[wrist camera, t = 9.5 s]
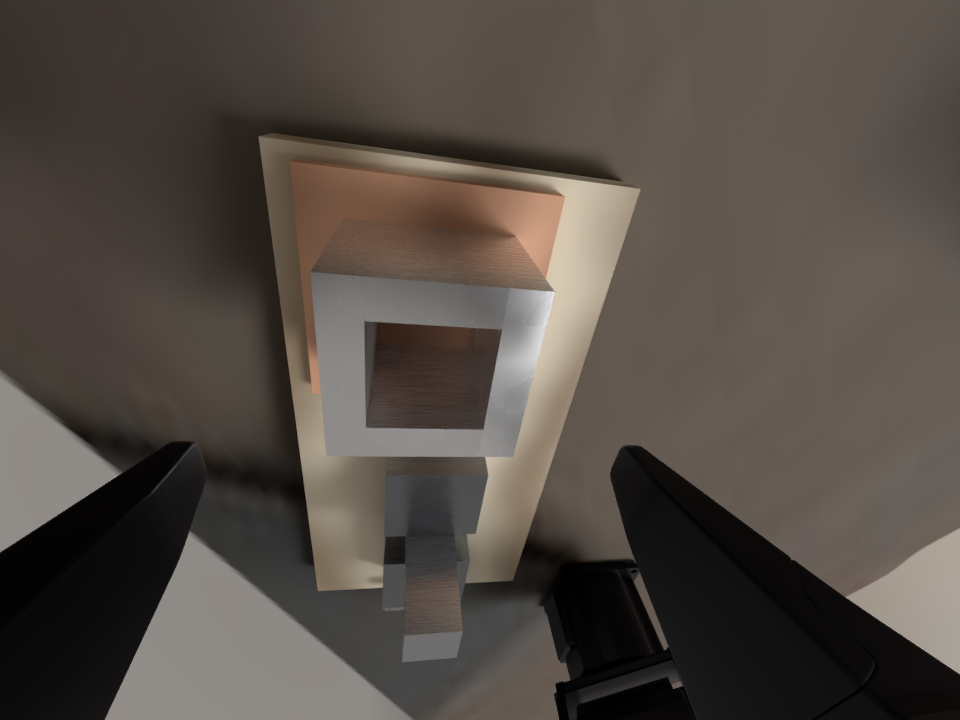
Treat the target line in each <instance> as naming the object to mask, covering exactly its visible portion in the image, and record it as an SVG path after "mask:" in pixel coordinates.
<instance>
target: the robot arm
mask: <svg viewBox="0 0 960 720" xmlns="http://www.w3.org/2000/svg"><path fill="white" fill-rule="evenodd" d="M610 477H611V482H612V486H613V489H614V493H615V497H616V500H617V504H618V508H619V511H620V515H621V518H622V522H623V526H624V529H625V533H626V536H627V539H628V542H629V545H630V548H631V550H632V553H633V556H634V558H635V561H636V563H623V564H601V565H580V566H565V567H563V568H562V569H561V570H560V572H559V574H558V576H557V579H556V581H555V584H554V586H553V588H552V590H551V592H550V595H549V597H548V600H547V602H546V604H545V607H544V610H545V614H546V615H547V616H548V620H549V624H550V628H551V632H552V636H553V640H554V644H555V648H556V652H557V656H558V660H559V661H560V662H561V663H566V665H567V669H568V672H569V676H570V681H567V682H563V681H562V682H559V683H556V690H557V692H556V693H555V694H554V697H555V701H556V706H557V710H558V715H559V720H960V674H958V673H957V672H955V671H954V670H952V669H951V668H949V667H948V666H946V665H945V664H943V663H942V662H940V661H939V660H937V659H936V658H934V657H933V656H931V655H930V654H928V653H927V652H925V651H924V650H922V649H921V648H919V647H918V646H916V645H915V644H914V643H912V642H910V641H909V640H907V639H906V638H904V637H903V636H902V635H900V634H898V633H897V632H896V631H894V630H893V629H891V628H890V627H888V626H887V625H885V624H883V623H882V622H880V621H879V620H878V619H876V618H875V617H873V616H872V615H870V614H869V613H867V612H866V611H864V610H863V609H862V608H860V607H859V606H857V605H856V604H854V603H853V602H851V601H850V600H848V599H847V598H845V597H844V596H843V595H841V594H840V593H838V592H837V591H836V590H834V589H833V588H832V587H830V586H829V585H827V584H826V583H825V582H823V581H822V580H820V579H819V578H818V577H816V576H815V575H814V574H812V573H811V572H810V571H808V570H807V569H806V568H804V567H803V566H801V565H800V564H799V563H797V562H796V561H795V560H791V558H790V557H789V556H788V555H787V554H785V553H784V552H783V551H781V550H780V549H778V548H777V547H776V546H774V545H773V544H772V543H770V542H769V541H768V540H766V539H765V538H764V537H762V536H761V535H760V534H758V533H757V532H756V531H754V530H753V529H752V528H750V527H749V526H748V525H746V524H745V523H743V522H742V521H741V520H739V519H738V518H737V517H735V516H734V515H733V514H731V513H730V512H729V511H727V510H726V509H725V508H723V507H722V506H721V505H719V504H718V503H717V502H715V501H714V500H713V499H711V498H710V497H708V496H707V495H706V494H704V493H703V492H702V491H700V490H699V489H698V488H696V487H695V486H694V485H692V484H691V483H690V482H688V481H687V480H686V479H684V478H683V477H682V476H680V475H679V474H678V473H676V472H675V471H673V470H672V469H671V468H669V467H668V466H667V465H665V464H664V463H663V462H661V461H660V460H659V459H657V458H656V457H655V456H653V455H652V454H651V453H649V452H648V451H647V450H645V449H644V448H642V447H641V446H637V445H625V446H622V447H621V448H620V450H619V452H618V454H617V457H616V459H615V461H614V463H613V466H612V468H611V472H610ZM206 479H207V470H206V467H205V463H204V460H203V457H202V454H201V450H200V447H199V445H198V444H197V443H196V442H193V441H174V442H170V443H168V444H166V445H165V446H163V447H162V448H160V449H159V450H157V451H156V452H154V453H153V454H151V455H150V456H148V457H146V458H145V459H143V460H142V461H140V462H139V463H137V464H136V465H134V466H133V467H131V468H130V469H128V470H126V471H125V472H123V473H122V474H120V475H119V476H117V477H116V478H114V479H113V480H111V481H110V482H108V483H106V484H105V485H103V486H102V487H100V488H99V489H97V490H96V491H94V492H93V493H91V494H90V495H88V496H87V497H85V498H84V499H82V500H81V501H79V502H77V503H76V504H74V505H73V506H71V507H69V508H68V509H67V510H65V511H63V512H62V513H60V514H59V515H57V516H56V517H54V518H53V519H51V520H50V521H48V522H47V523H45V524H43V525H42V526H40V527H39V528H37V529H36V530H34V531H33V532H31V533H30V534H28V535H26V536H25V537H23V538H22V539H20V540H19V541H17V542H16V543H14V544H13V545H11V546H9V547H8V548H6V549H5V550H3V551H2V552H0V720H105V718H106V716H107V714H108V711H109V709H110V707H111V705H112V703H113V701H114V699H115V697H116V694H117V692H118V690H119V688H120V686H121V684H122V682H123V679H124V677H125V675H126V673H127V671H128V669H129V667H130V664H131V662H132V660H133V658H134V656H135V654H136V651H137V649H138V647H139V645H140V643H141V641H142V639H143V637H144V634H145V632H146V630H147V628H148V626H149V624H150V622H151V619H152V617H153V615H154V613H155V611H156V609H157V607H158V604H159V602H160V600H161V598H162V595H163V594H164V592H165V589H166V587H167V585H168V583H169V581H170V579H171V577H172V574H173V572H174V570H175V568H176V566H177V563H178V561H179V559H180V556H181V553H182V550H183V548H184V545H185V542H186V539H187V536H188V533H189V530H190V528H191V525H192V522H193V519H194V516H195V513H196V510H197V507H198V504H199V501H200V498H201V495H202V492H203V489H204V486H205V483H206ZM639 572H640V574H641V576H642V579H643V582H644V584H645V587H646V589H647V592H648V594H649V597H650V600H651V602H652V605H653V607H654V610H655V613H656V615H657V618H658V620H659V623H660V626H661V628H662V631H663V633H664V636H665V638H666V641H667V644H668V646H669V647H668V648H667V650H664V649H663V647H662V644H661V642H660V640H659V638H658V635H657V633H656V631H655V629H654V626H653V624H652V622H651V620H650V617H649V615H648V613H647V611H646V608H645V606H644V604H643V602H642V599H641V597H640V595H639V593H638V590H637V588H636V586H635V584H634V580H635V578H636V577H637V575H638V574H639ZM679 681H680V682H681V684H682V687H679V688H675V689H673V688H672V686H671V684H672V683H676V682H679Z"/></svg>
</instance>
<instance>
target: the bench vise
mask: <svg viewBox="0 0 960 720" xmlns="http://www.w3.org/2000/svg"><path fill="white" fill-rule="evenodd" d="M487 479H488V470H487V465H486V459H485V457H387V464H386V479H385V520H384V537H385V550H384V564H383V601H382V608H383V609H384V610H385V611H396V610H403V645H402V662H410V661H422V660H433V659H445V658H456V657H457V653H458V649H459V644H460V640H461V636H462V632H463V630H462V618H461V607H460V603H461V600H462V595H463V590H464V586H465V581H466V576H467V572H468V567H469V563H470V558H469V549H468V540H467V534H476V530H477V526H478V521H479V516H480V512H481V507H482V502H483V498H484V493H485V489H486V484H487Z"/></svg>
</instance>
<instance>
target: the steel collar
mask: <svg viewBox="0 0 960 720" xmlns="http://www.w3.org/2000/svg"><path fill="white" fill-rule="evenodd" d="M310 274H311V285H312V297H313V309H314V320H315V332H316V343H317V355H318V367H319V378H320V390H321V401H322V413H323V425H324V436H325V448H326V456H377V457H513V456H514V452H515V448H516V444H517V440H518V436H519V432H520V428H521V424H522V420H523V416H524V412H525V408H526V404H527V401H528V397H529V393H530V389H531V385H532V381H533V377H534V373H535V369H536V365H537V361H538V357H539V353H540V349H541V345H542V341H543V337H544V333H545V329H546V325H547V321H548V317H549V313H550V309H551V305H552V301H553V297H554V293H555V291H554V290H553V288H552V287H551V286H550V284H549V283H548V281H547V280H546V278H545V277H544V276H543V274H542V273H541V271H540V270H539V268H538V267H537V266H536V264H535V263H534V261H533V260H532V258H531V257H530V256H529V254H528V253H527V251H526V250H525V248H524V247H523V246H522V244H521V243H520V241H519V240H518V238H517V237H516V236H508V235H499V234H489V233H480V232H470V231H461V230H451V229H442V228H432V227H423V226H413V225H404V224H394V223H385V222H375V221H366V220H357V219H347V218H343V219H342V221H341V222H340V224H339V226H338V227H337V229H336V230H335V232H334V234H333V235H332V237H331V239H330V240H329V242H328V244H327V245H326V247H325V249H324V250H323V252H322V254H321V255H320V257H319V259H318V260H317V262H316V264H315V265H314V267H313V268H312V270H311V272H310ZM379 322H385V323H402V324H418V325H434V326H450V327H466V328H470V332H469V339H468V346H467V348H457V347H438V346H419V345H400V344H381V343H379Z"/></svg>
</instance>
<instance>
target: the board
mask: <svg viewBox="0 0 960 720" xmlns="http://www.w3.org/2000/svg"><path fill="white" fill-rule="evenodd" d="M259 144H260V152H261V160H262V167H263V175H264V182H265V190H266V198H267V205H268V213H269V221H270V228H271V236H272V244H273V251H274V259H275V267H276V274H277V282H278V289H279V297H280V305H281V312H282V320H283V328H284V335H285V343H286V351H287V358H288V366H289V374H290V381H291V389H292V397H293V404H294V412H295V419H296V427H297V435H298V442H299V450H300V458H301V465H302V473H303V481H304V488H305V496H306V504H307V511H308V519H309V526H310V534H311V542H312V549H313V557H314V565H315V572H316V580H317V588H318V591H328V590H347V589H366V588H383V564H384V550H385V537H384V520H385V479H386V464H387V457H377V456H326V448H325V436H324V425H323V413H322V401H321V390H320V378H319V367H318V355H317V343H316V332H315V320H314V309H313V297H312V285H311V274H310V272H311V270H312V268H313V267H314V265H315V264H316V262H317V260H318V259H319V257H320V255H321V254H322V252H323V250H324V249H325V247H326V245H327V244H328V242H329V240H330V239H331V237H332V235H333V234H334V232H335V230H336V229H337V227H338V226H339V224H340V222H341V221H342V219H343V218H347V219H357V220H366V221H375V222H385V223H394V224H404V225H413V226H423V227H432V228H442V229H451V230H461V231H470V232H480V233H489V234H499V235H508V236H516V237H517V238H518V240H519V241H520V243H521V244H522V246H523V247H524V248H525V250H526V251H527V253H528V254H529V256H530V257H531V258H532V260H533V261H534V263H535V264H536V266H537V267H538V268H539V270H540V271H541V273H542V274H543V276H544V277H545V278H546V280H547V281H548V283H549V284H550V286H551V287H552V288H553V290H554V291H555V293H554V297H553V301H552V305H551V309H550V313H549V317H548V321H547V325H546V329H545V333H544V337H543V341H542V345H541V349H540V353H539V357H538V361H537V365H536V369H535V373H534V377H533V381H532V385H531V389H530V393H529V397H528V401H527V404H526V408H525V412H524V416H523V420H522V424H521V428H520V432H519V436H518V440H517V444H516V448H515V452H514V456H513V457H485V459H486V465H487V470H488V479H487V484H486V489H485V493H484V498H483V502H482V507H481V512H480V516H479V521H478V526H477V530H476V534H467V540H468V549H469V558H470V563H469V567H468V572H467V576H466V581H465V583H479V582H498V581H513V579H514V575H515V572H516V569H517V566H518V563H519V560H520V557H521V554H522V551H523V548H524V545H525V542H526V539H527V536H528V533H529V530H530V526H531V523H532V520H533V517H534V514H535V511H536V508H537V505H538V502H539V499H540V496H541V493H542V490H543V487H544V484H545V480H546V477H547V474H548V471H549V468H550V465H551V462H552V459H553V456H554V453H555V450H556V447H557V444H558V441H559V438H560V435H561V431H562V428H563V425H564V422H565V419H566V416H567V413H568V410H569V407H570V404H571V401H572V398H573V395H574V392H575V389H576V386H577V382H578V379H579V376H580V373H581V370H582V367H583V364H584V361H585V358H586V355H587V352H588V349H589V346H590V343H591V340H592V337H593V333H594V330H595V327H596V324H597V321H598V318H599V315H600V312H601V309H602V306H603V303H604V300H605V297H606V294H607V291H608V288H609V284H610V281H611V278H612V275H613V272H614V269H615V266H616V263H617V260H618V257H619V254H620V251H621V248H622V245H623V242H624V239H625V235H626V232H627V229H628V226H629V223H630V220H631V217H632V214H633V211H634V208H635V205H636V202H637V199H638V196H639V193H640V188H637V187H635V186H633V185H630V184H628V183H625V182H622V181H615V180H608V179H600V178H593V177H586V176H579V175H572V174H565V173H557V172H550V171H543V170H536V169H529V168H522V167H514V166H507V165H500V164H493V163H486V162H478V161H471V160H464V159H457V158H450V157H443V156H435V155H428V154H421V153H414V152H407V151H400V150H392V149H385V148H378V147H371V146H364V145H357V144H349V143H342V142H335V141H328V140H321V139H314V138H306V137H299V136H292V135H285V134H278V133H270V134H266V135H263V136H259ZM469 332H470V328H466V327H450V326H434V325H418V324H402V323H385V322H379V343H381V344H400V345H419V346H438V347H457V348H467V346H468V339H469Z"/></svg>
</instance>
